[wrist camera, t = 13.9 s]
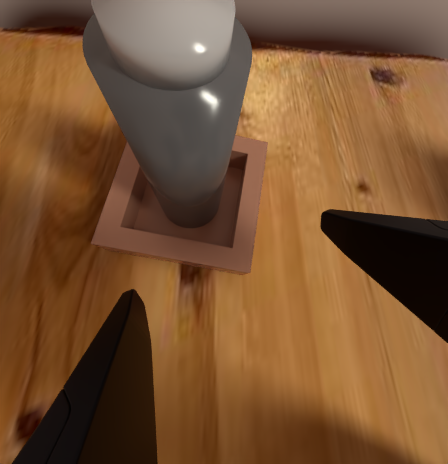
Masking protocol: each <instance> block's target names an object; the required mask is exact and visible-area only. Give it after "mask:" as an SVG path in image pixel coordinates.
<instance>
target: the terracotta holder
mask: <svg viewBox="0 0 448 464" xmlns="http://www.w3.org/2000/svg"><path fill="white" fill-rule="evenodd" d="M267 145H268V142H263V141H259V140H254V139H250V138H245V137H241V136H237V135H235V138H234V143H233V147H232V152H231V156H230V161H229V165H228V169H227V174H226V178H225V183H224V187H223V192H222V196H221V201H220V205H219V209H218V212H217V214H216V215H215V217H214V218H213V219H212V220H211V221H210V222H209V223H207V224H206V225H204V226H201V227H198V228H183V227H180V226H177V225H176V224H174V223H172V222H171V221H170V220H169V219H168V218H167V217H166V215H165V213H164V212H163V210H162V208H161V206H160V204H159V202H158V200H157V198H156V196H155V194H154V192H153V190H152V188H151V186H150V185H149V183H148V181H147V179H146V177H145V175H144V173H143V171H142V169H141V167H140V165H139V163H138V161H137V159H136V157H135V156H134V154H133V152H132V150H131V148H130V146H129V144H128V142H127V143H126V146H125V149H124V151H123V154H122V157H121V160H120V163H119V166H118V168H117V171H116V174H115V177H114V180H113V182H112V185H111V188H110V191H109V194H108V197H107V199H106V202H105V205H104V208H103V211H102V213H101V216H100V219H99V222H98V225H97V228H96V230H95V233H94V236H93V239H92V242H91V244H93V245H96V246H99V247H101V248H104V249H107V250H109V251H114V252H120V253H125V254H130V255H136V256H141V257H147V258H152V259H158V260H163V261H169V262H174V263H179V264H185V265H190V266H196V267H201V268H207V269H212V270H218V271H223V272H229V273H234V274H239V275H244V274H248V273H250V271H251V263H252V256H253V249H254V241H255V234H256V226H257V219H258V212H259V204H260V197H261V189H262V182H263V175H264V167H265V160H266V152H267Z"/></svg>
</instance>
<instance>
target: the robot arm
mask: <svg viewBox="0 0 448 464" xmlns="http://www.w3.org/2000/svg"><path fill="white" fill-rule="evenodd" d="M321 230H322V231H323V232H324V233H325V235H326V236H327V237H328V238H329V239H330V240H331V241H332V242H333V243H334V244H335V245H336V246H337V247H338V248H339V249H340V250H341V251H342V252H343V253H344V254H345V255H346V256H347V257H348V258H350V259H351V260H352V261H353V262H354V263H355V264H356V265H358V266H359V267H360V268H361V269H362V270H363V271H365V272H366V273H367V274H368V275H369V276H370V277H372V278H373V279H374V280H375V281H376V282H377V283H379V284H380V285H381V286H382V287H383V288H384V289H386V290H387V291H388V292H389V293H390V294H391V295H392V296H394V297H395V298H396V299H397V300H398V301H399V302H401V303H402V304H403V305H404V306H405V307H406V308H408V309H409V310H410V311H411V312H412V313H413V314H415V315H416V316H417V317H418V318H419V319H420V320H422V321H423V322H424V323H425V324H426V325H427V326H428V327H430V328H431V329H432V330H433V331H434V332H435V333H436V334H438V335H439V336H440V337H441V338H442V339H443V340H444V341H446V342H447V343H448V221H440V220H431V219H421V218H411V217H401V216H392V215H382V214H372V213H363V212H353V211H343V210H334V209H329V210H327V211H324V212H323V213H322V214H321ZM63 388H64V389H62V390H61V391H60V393H59V394H58V396H57V397H56V399H55V401H54V402H53V404H52V405H51V407H50V408H49V410H48V411H47V413H46V414H45V416H44V417H43V419H42V420H41V422H40V424H39V425H38V427H37V428H36V430H35V431H34V432H33V434H32V435H31V437H30V438H29V440H28V441H27V442H26V444H25V445H24V447H23V448H22V450H21V451H20V452H19V454H18V455H17V457H16V458H15V460H14V461H13V462H12V464H158V462H157V443H156V424H155V405H154V386H153V367H152V348H151V339H150V333H149V327H148V321H147V316H146V310H145V305H144V303H143V301H142V299H141V298H140V296H139V295H138V293H137V292H136V290H134V289H131V290H129V291H126V292H124V293H123V294H122V295H121V297H120V299H119V300H118V302H117V303H116V305H115V306H114V308H113V310H112V311H111V313H110V314H109V316H108V317H107V319H106V321H105V322H104V324H103V325H102V327H101V328H100V330H99V332H98V333H97V335H96V336H95V338H94V339H93V341H92V343H91V344H90V346H89V347H88V349H87V350H86V352H85V354H84V355H83V357H82V358H81V360H80V361H79V363H78V365H77V366H76V368H75V369H74V371H73V372H72V374H71V376H70V377H69V379H68V380H67V382H66V383H65V385H64V387H63Z"/></svg>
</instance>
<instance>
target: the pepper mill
mask: <svg viewBox="0 0 448 464" xmlns="http://www.w3.org/2000/svg"><path fill="white" fill-rule="evenodd" d="M91 4H92V8H93V10H94V14H93V15H92V17H91V18H90V20H89V21H88V23H87V25H86V28H85V30H84V35H83V52H84V57H85V59H86V62H87V65H88V67H89V68H90V70H91V72H92V74H93V76H94V78H95V80H96V82H97V84H98V86H99V88H100V90H101V92H102V94H103V96H104V97H105V99H106V101H107V103H108V105H109V107H110V109H111V111H112V113H113V115H114V117H115V119H116V121H117V123H118V125H119V127H120V128H121V130H122V132H123V134H124V136H125V138H126V140H127V142H128V144H129V146H130V148H131V150H132V152H133V154H134V156H135V157H136V159H137V161H138V163H139V165H140V167H141V169H142V171H143V173H144V175H145V177H146V179H147V181H148V183H149V185H150V186H151V188H152V190H153V192H154V194H155V196H156V198H157V200H158V202H159V204H160V206H161V208H162V210H163V212H164V213H165V215H166V217H167V218H168V219H169V220H170V221H171V222H172V223H174V224H176V225H177V226H180V227H183V228H198V227H201V226H204V225H206V224H207V223H209V222H210V221H211V220H212V219H213V218H214V217H215V215H216V214H217V212H218V209H219V205H220V201H221V196H222V192H223V187H224V183H225V178H226V174H227V169H228V165H229V161H230V156H231V152H232V147H233V143H234V138H235V134H236V130H237V125H238V121H239V116H240V112H241V107H242V103H243V99H244V94H245V90H246V85H247V81H248V76H249V72H250V67H251V63H252V48H251V44H250V40H249V37H248V35H247V33H246V31H245V29H244V28H243V26H242V25H241V23H240V22H239V21H238V20H237V19H236V18H235V3H234V0H91Z"/></svg>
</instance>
